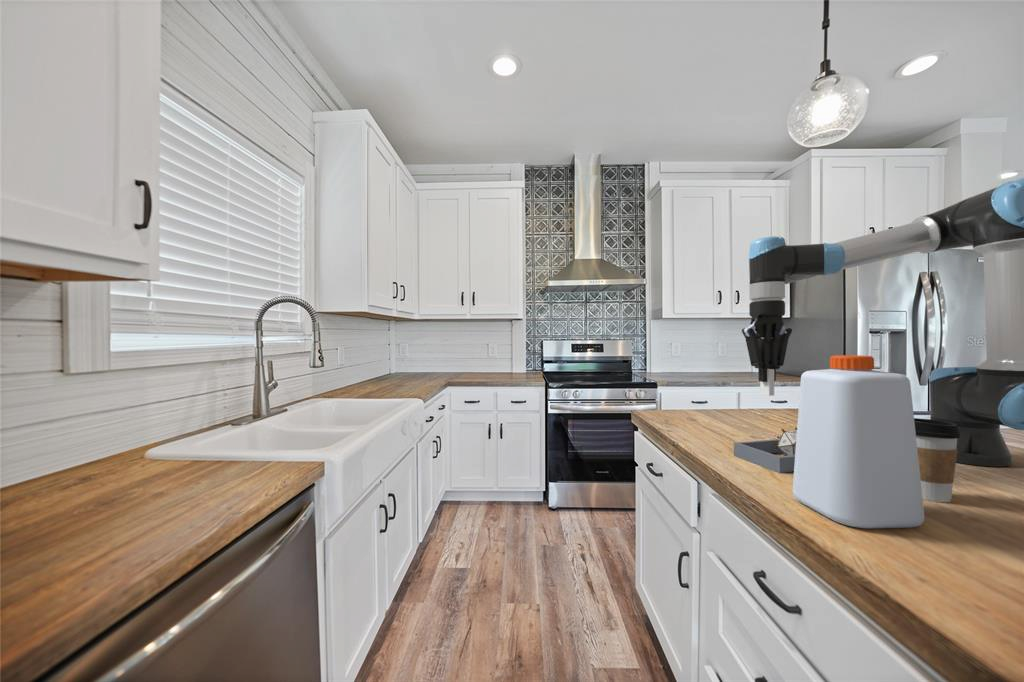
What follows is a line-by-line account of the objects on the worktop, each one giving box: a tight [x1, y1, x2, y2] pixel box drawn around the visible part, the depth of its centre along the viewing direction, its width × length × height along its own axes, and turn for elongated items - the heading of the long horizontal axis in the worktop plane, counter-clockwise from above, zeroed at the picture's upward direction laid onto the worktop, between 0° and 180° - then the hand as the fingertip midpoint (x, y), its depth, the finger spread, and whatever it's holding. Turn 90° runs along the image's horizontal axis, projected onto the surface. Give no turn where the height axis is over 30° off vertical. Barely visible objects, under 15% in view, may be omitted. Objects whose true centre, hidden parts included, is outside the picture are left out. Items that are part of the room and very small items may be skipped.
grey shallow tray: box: [733, 438, 795, 474], centre depth 100 cm, size 18×14×4 cm
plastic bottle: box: [792, 354, 926, 529], centre depth 71 cm, size 15×15×28 cm
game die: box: [774, 426, 797, 456], centre depth 101 cm, size 9×8×10 cm
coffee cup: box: [914, 417, 960, 503], centre depth 77 cm, size 8×8×15 cm
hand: (767, 394), depth 99 cm, fingers closed
